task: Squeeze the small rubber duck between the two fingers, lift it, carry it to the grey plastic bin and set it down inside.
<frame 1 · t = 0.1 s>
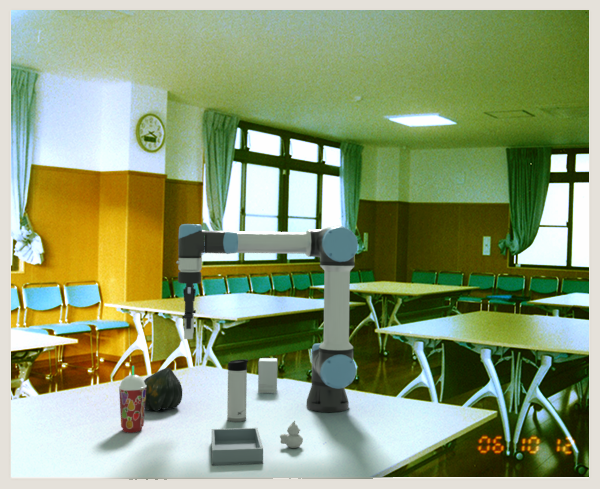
hand: (189, 335, 212), 28 cm above the table, tool pointing down, fingers open, 13 cm apart
rubber duck: (291, 448, 186), on the table
bin: (236, 452, 181), on the table
supplement box: (267, 391, 256), on the table
travel mug: (237, 420, 215), on the table
smoothie: (132, 430, 201), on the table
squash: (160, 409, 228), on the table
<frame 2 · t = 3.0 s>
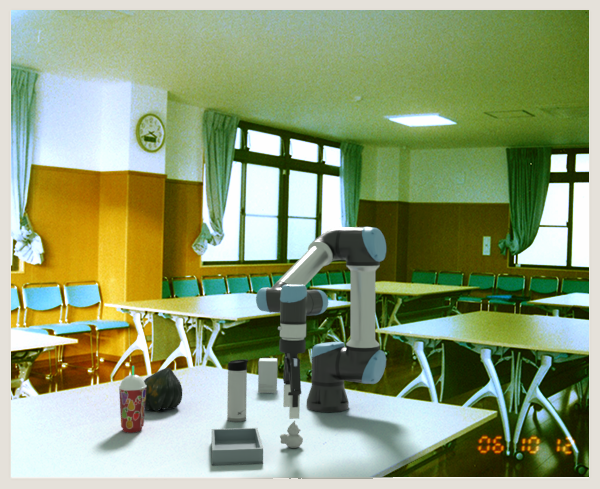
hand: (291, 412, 186), 10 cm above the table, tool pointing down, fingers open, 13 cm apart
nothing on the table moved.
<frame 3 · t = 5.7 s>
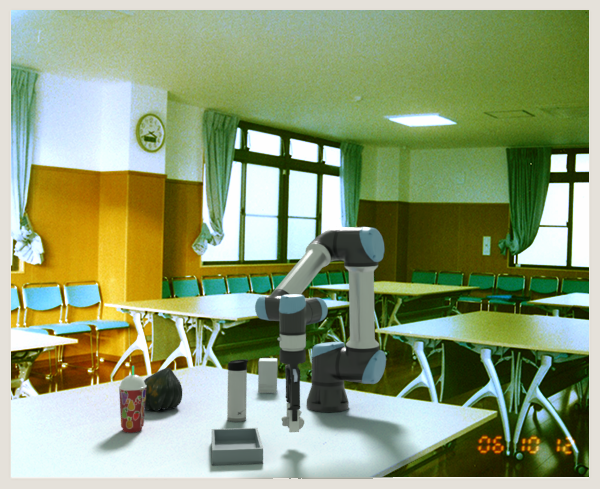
hand: (292, 428, 187), 5 cm above the table, tool pointing down, fingers closed on rubber duck, 5 cm apart
rubber duck: (292, 430, 187), point 5 cm above the table, touching gripper
everything else where it was.
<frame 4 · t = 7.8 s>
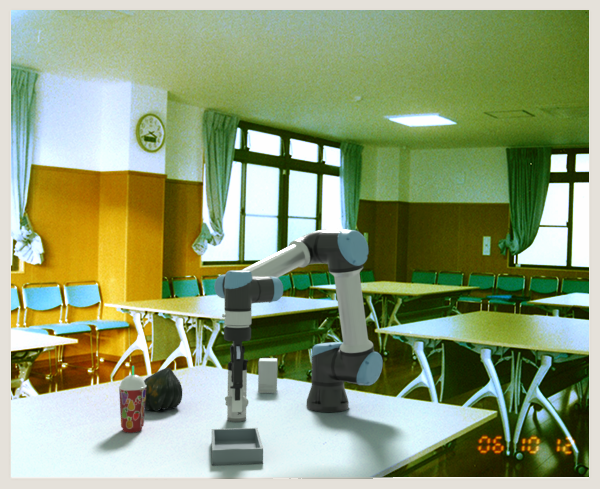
hand: (236, 408, 181), 12 cm above the table, tool pointing down, fingers closed on rubber duck, 5 cm apart
rubber duck: (236, 410, 181), point 12 cm above the table, touching gripper
everything else where it was.
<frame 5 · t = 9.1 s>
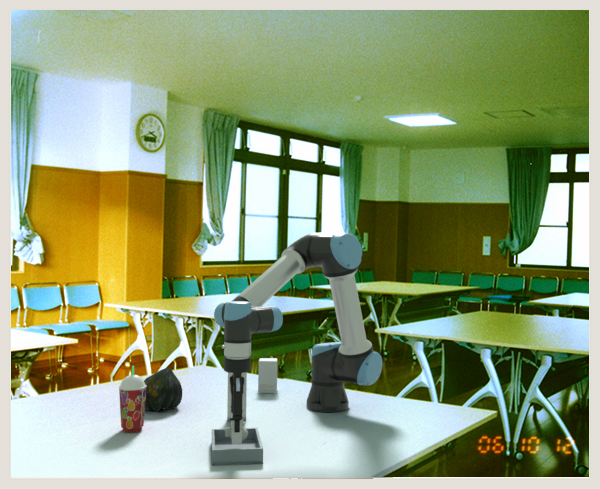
hand: (236, 439, 181), 4 cm above the table, tool pointing down, fingers closed on rubber duck, 5 cm apart
rubber duck: (236, 441, 181), point 3 cm above the table, touching gripper
everything else where it was.
when the fingers open (2 cm above the table, at t = 10.2 s): rubber duck drops 1 cm, resting on bin.
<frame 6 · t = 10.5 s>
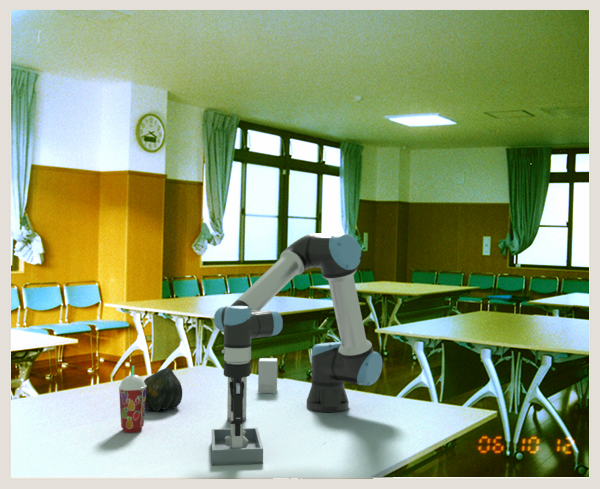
hand: (236, 440, 181), 3 cm above the table, tool pointing down, fingers open, 10 cm apart
rubber duck: (236, 450, 181), resting on bin
everything else where it was.
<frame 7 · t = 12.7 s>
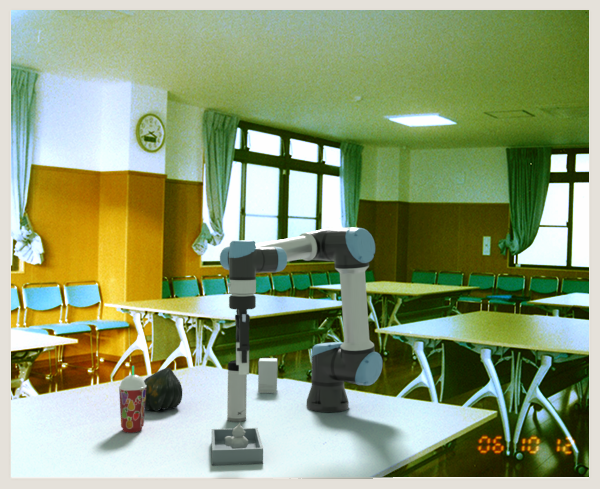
hand: (242, 369, 184), 23 cm above the table, tool pointing down, fingers open, 13 cm apart
nothing on the table moved.
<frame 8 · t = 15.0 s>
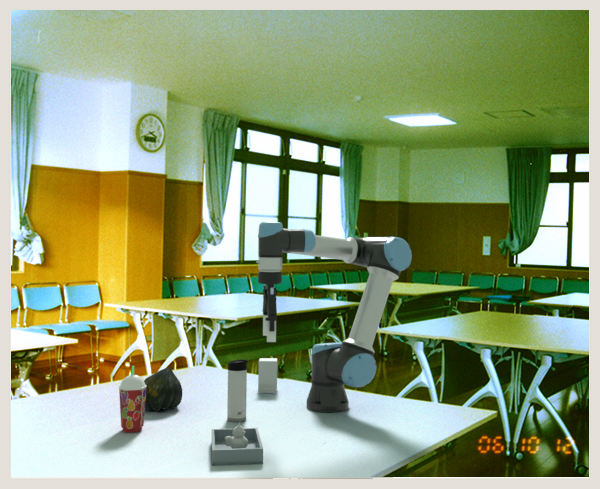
hand: (269, 338, 203), 29 cm above the table, tool pointing down, fingers open, 13 cm apart
nothing on the table moved.
at the end: rubber duck inside the target area on the bin (0.1 cm from its centre), point 0.5 cm above the bin's base; the gripper is holding nothing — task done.
